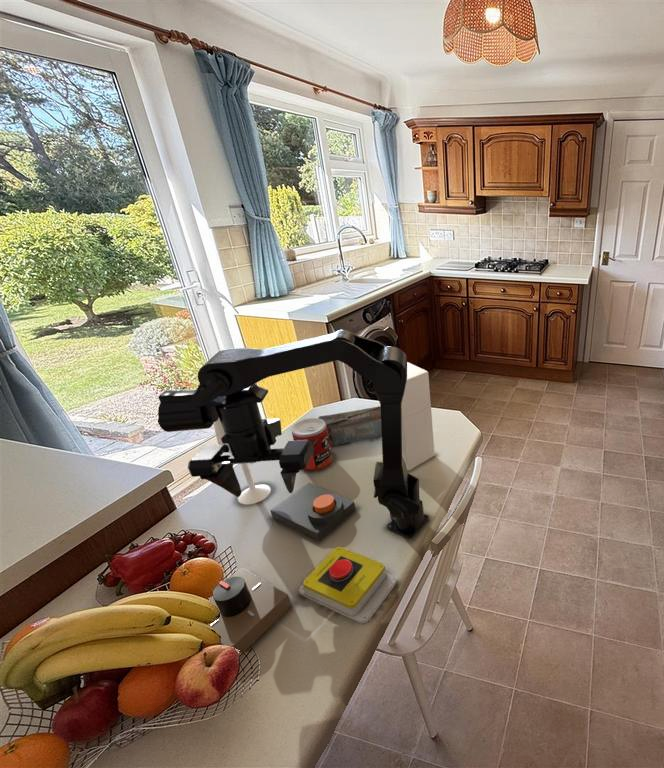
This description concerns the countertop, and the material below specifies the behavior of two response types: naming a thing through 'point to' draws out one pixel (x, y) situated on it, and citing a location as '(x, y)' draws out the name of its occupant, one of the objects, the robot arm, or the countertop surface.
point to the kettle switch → (324, 504)
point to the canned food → (314, 441)
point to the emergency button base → (311, 511)
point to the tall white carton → (416, 418)
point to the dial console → (252, 613)
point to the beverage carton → (353, 425)
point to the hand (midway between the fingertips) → (265, 493)
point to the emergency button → (349, 584)
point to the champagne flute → (254, 491)
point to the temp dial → (232, 596)
